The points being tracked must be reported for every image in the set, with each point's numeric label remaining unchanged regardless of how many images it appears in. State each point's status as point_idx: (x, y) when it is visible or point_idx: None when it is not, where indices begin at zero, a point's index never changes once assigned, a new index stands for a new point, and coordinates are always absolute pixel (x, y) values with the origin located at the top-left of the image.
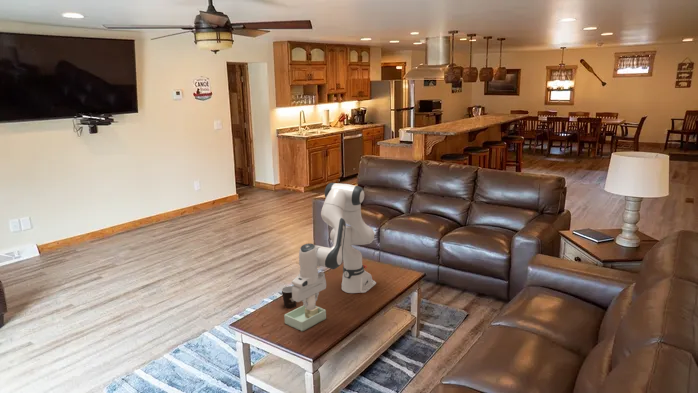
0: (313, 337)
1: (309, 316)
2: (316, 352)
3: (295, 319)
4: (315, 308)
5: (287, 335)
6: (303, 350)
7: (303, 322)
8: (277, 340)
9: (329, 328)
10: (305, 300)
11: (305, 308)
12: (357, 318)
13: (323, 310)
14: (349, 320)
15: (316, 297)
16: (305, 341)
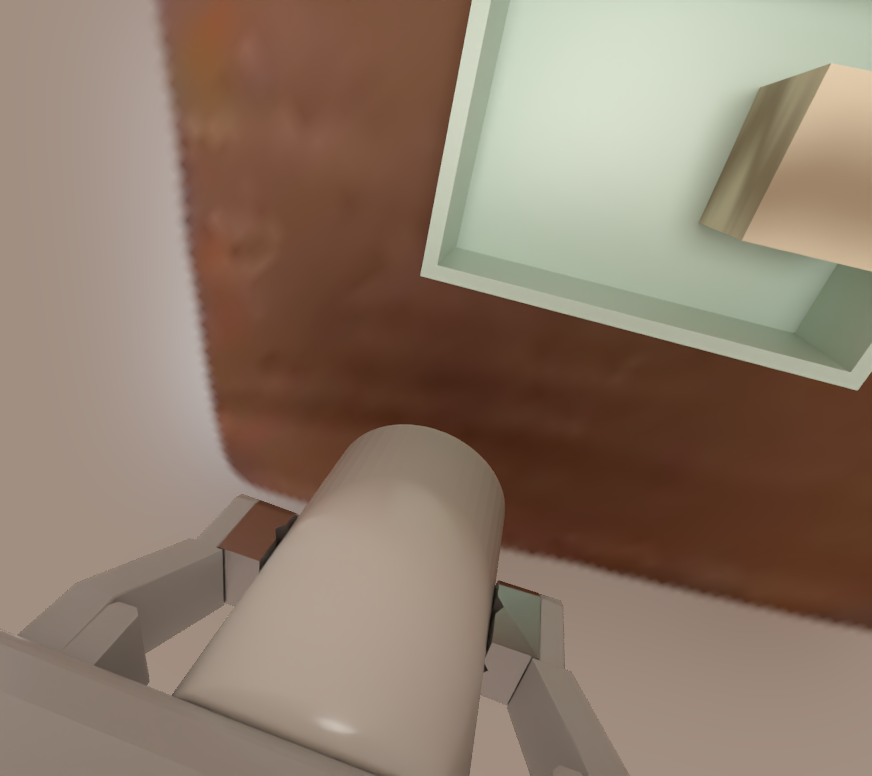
0: (408, 393)
1: (729, 184)
2: (271, 486)
3: (449, 146)
4: (860, 251)
5: (317, 155)
6: (237, 407)
7: (449, 280)
8: (201, 122)
9: (596, 448)
10: (260, 570)
11: (829, 81)
12: (856, 591)
13: (832, 370)
14: (799, 546)
15: (512, 719)
16: (329, 364)
